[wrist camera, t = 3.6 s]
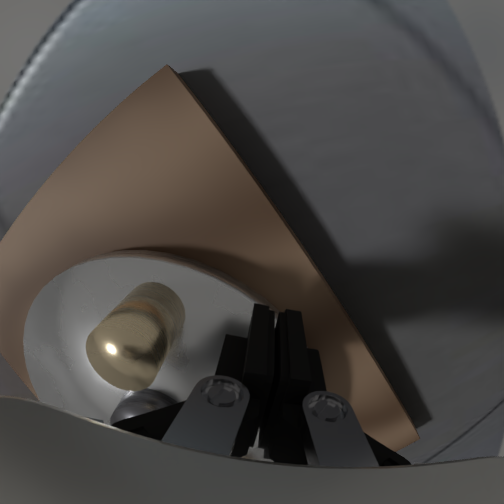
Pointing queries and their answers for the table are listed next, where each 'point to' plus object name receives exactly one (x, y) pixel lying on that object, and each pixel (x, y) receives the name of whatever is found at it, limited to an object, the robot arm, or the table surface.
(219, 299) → the flange plate
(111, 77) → the table surface
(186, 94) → the base board
